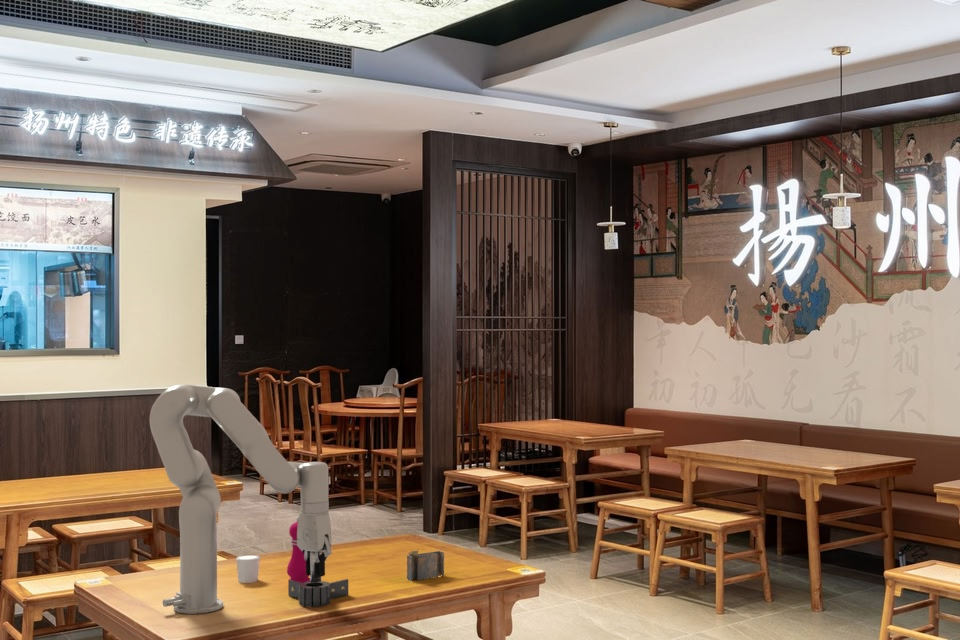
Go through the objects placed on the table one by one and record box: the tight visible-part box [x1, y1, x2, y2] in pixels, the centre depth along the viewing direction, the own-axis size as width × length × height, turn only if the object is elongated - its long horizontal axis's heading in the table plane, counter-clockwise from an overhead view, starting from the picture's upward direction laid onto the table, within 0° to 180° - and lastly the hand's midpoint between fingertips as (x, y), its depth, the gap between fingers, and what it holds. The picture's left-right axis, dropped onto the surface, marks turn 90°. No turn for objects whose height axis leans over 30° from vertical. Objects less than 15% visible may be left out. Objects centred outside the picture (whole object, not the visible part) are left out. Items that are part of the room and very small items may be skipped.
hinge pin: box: [309, 551, 322, 582], centre depth 264 cm, size 3×3×10 cm
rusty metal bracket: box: [406, 549, 445, 582], centre depth 291 cm, size 11×3×10 cm, turn 123°
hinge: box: [287, 578, 349, 608], centre depth 269 cm, size 16×16×5 cm
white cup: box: [235, 554, 261, 584], centre depth 289 cm, size 7×7×7 cm
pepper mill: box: [286, 516, 310, 583], centre depth 283 cm, size 7×7×20 cm
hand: (315, 574), depth 264 cm, fingers closed on hinge pin, 3 cm apart
